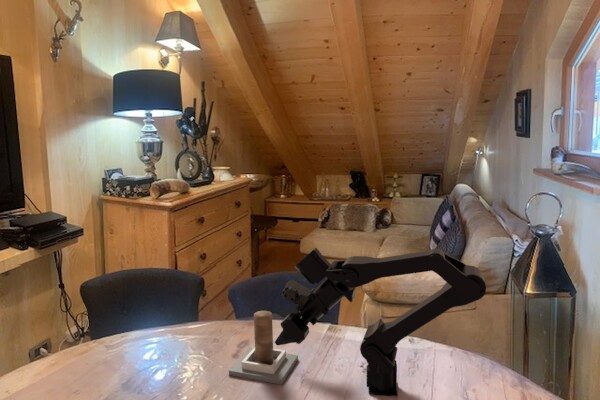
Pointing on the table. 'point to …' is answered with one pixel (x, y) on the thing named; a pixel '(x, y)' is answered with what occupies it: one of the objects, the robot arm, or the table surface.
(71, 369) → the table surface
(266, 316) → the walnut post
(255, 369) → the grey framed base plate
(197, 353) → the table surface
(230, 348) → the table surface
